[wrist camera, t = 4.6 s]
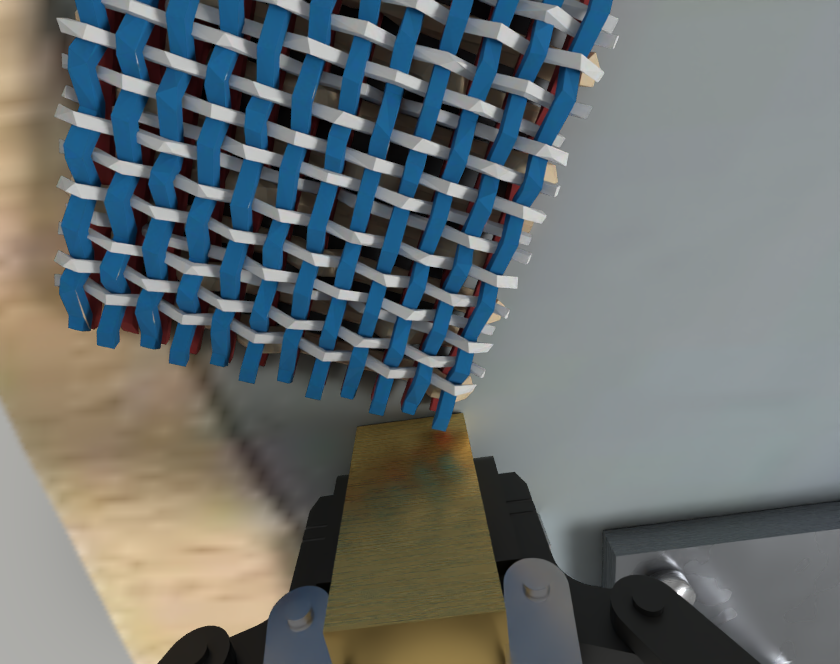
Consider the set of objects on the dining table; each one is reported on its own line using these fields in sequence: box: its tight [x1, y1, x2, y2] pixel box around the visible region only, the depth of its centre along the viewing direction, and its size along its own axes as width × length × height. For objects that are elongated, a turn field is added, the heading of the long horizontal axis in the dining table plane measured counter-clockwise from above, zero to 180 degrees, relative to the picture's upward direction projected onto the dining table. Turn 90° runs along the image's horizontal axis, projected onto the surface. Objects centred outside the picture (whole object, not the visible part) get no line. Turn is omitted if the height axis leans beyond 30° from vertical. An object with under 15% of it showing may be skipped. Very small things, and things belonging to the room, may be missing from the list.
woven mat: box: [54, 0, 619, 432], centre depth 10 cm, size 10×11×2 cm
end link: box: [323, 413, 551, 664], centre depth 12 cm, size 11×7×6 cm, turn 8°
